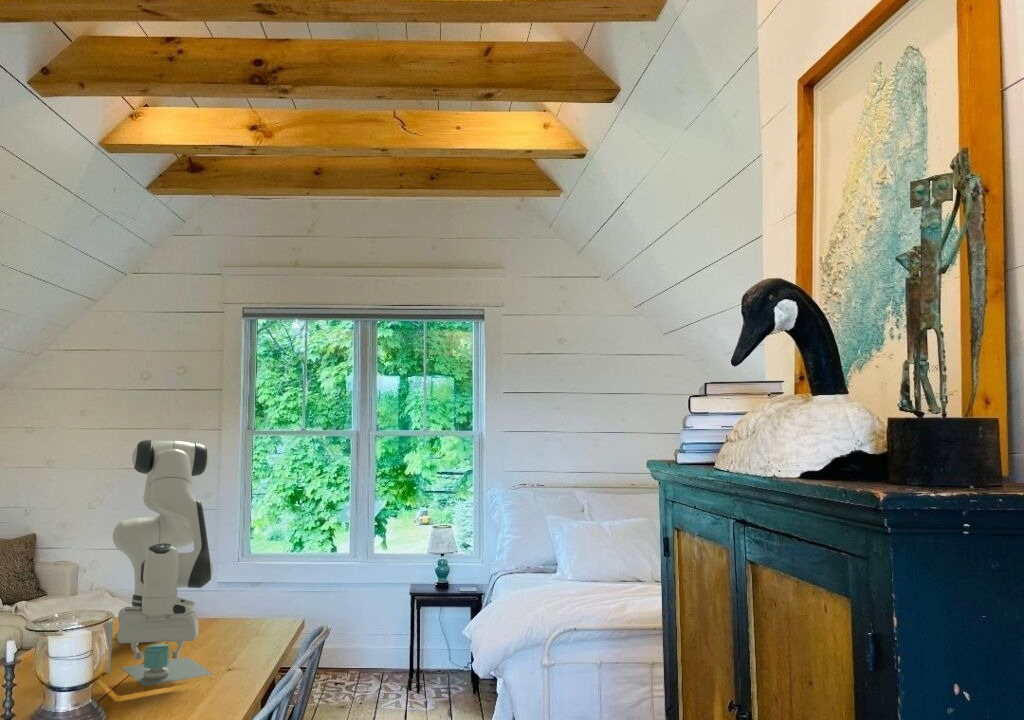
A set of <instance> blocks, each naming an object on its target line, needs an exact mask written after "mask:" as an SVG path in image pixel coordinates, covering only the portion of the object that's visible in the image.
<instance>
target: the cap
mask: <svg viewBox="0 0 1024 720" xmlns="http://www.w3.org/2000/svg"><path fill="white" fill-rule="evenodd" d="M143 651H144V652H143V654H144V655H143V664H144V667H146V668H161V667H165V666H167V665H168V664H169V660H170V652H171V651H170V645H169V644H166V643H165V644H164V643H158V644H157V643H156V644H151V645H147V646H145V649H144V650H143Z"/></svg>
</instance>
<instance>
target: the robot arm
mask: <svg viewBox="0 0 1024 720" xmlns="http://www.w3.org/2000/svg"><path fill="white" fill-rule="evenodd" d="M209 456H210V455H209V453H208V448H207V447H206V446H205V445H204V444H202V443H199V442H198V443H197V442H193V443H192V442H190V441H189V442H187V441H182V440H152V439H145V440H140V441H139V442H138V443H137V445H136V447H135V448H134V450H133V452H132V457H131V459H132V464H133V468H134V470H136V471H137V472H138V473H140V474H144V475H146V481H145V487H144V492H143V497H142V499H143V503H144V506H146V507H147V509H149V510H151V511H152V512H153V513H156V514H159V515H158V516H147V517H144V516H143V517H132V518H128V519H124V520H121V521H119V522H118V523H117V524H116V526H115V528H114V529H113V533H112V541H113V544H114V546H115V547H116V549H118V550H119V551H120V552H122V553H123V554H124V555H126V557H127V558H128V559H129V561H130V563H131V565H132V568H133V573H134V593H133V594H132V598H131V606H124V608H122V609H120V610H119V611H118V615H117V620H118V623H119V624H118V627H117V632H116V633H117V634H116V640H117V642H118V643H119V644H130V648H131V650H132V652H133V653H134V660H135V661H137V660H138V661H139V660H143V654H144V652H143V651H144V650H143V651H140V650H139V648H138V646H139V643H141V644H142V643H167V642H168V643H169V642H176V646H178V647H177V648H176V650H173V651H172V652H171V659H179V658H180V651H181V649H182V648H183V646H184V644H185V642H193V641H195V640H196V639H197V637H198V635H199V619H198V614H197V613H196V611H194V610H195V607H196V603H195V602H194V601H193V600H188V599H184V598H181V597H179V596H178V595H179V594H178V591H179V590H178V588H179V589H180V588H189V589H202V588H203V587H204V586H206V585H207V584H208V583H209V582H210V581H212V577H213V574H214V565H213V560H212V556H211V554H210V549H209V543H208V541H209V540H208V533H207V526H206V519H205V514H204V508H203V503H202V502H201V500H199V499H197V498H196V497H195V496H194V494H193V491H192V481H193V480H192V477H197V476H200V475H202V474H203V473H204V472H205V471H206V469H207V467H208V465H209V460H210V457H209ZM191 545H193V551H190V552H189V551H188V552H178V549H182V548H184V547H189V546H191Z"/></svg>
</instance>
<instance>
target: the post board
mask: <svg viewBox="0 0 1024 720" xmlns="http://www.w3.org/2000/svg"><path fill="white" fill-rule="evenodd" d="M121 669H122V670H123V671H124V672H126V673H127V674H128V675H129V676H130V677H132V678H133V679H134V680H136V682H137V683H139V684H140V685H141V686H142V687H149V686H154V685H159V684H165V683H171V682H177V681H182V680H188V679H193V678H194V679H195V678H200V677H205V676H209V675H211V676H213V675H214V673H213V672H212V671H210V670H208V669H207V668H205V667H203V666H202V665H201V664H199V663H198V662H196V661H195V660H192V658H190V657H188V656H186V657H179V658H172V659H169V664H168V665H167V666H165V667H161V668H146V667H144V663H143V664H141V663H140V664H136V665H130V666H124V667H121ZM213 679H214V678H213ZM196 682H197V681H196ZM184 684H185V685H186V684H187V683H184ZM174 686H176V685H173V687H174ZM156 689H157V690H158V688H156ZM146 691H148V690H146Z"/></svg>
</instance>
